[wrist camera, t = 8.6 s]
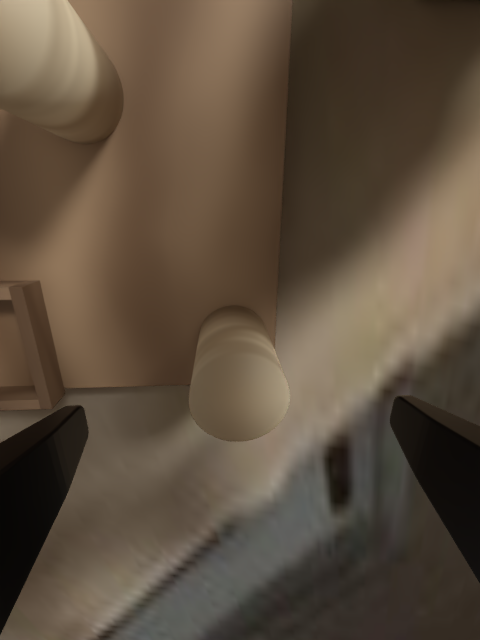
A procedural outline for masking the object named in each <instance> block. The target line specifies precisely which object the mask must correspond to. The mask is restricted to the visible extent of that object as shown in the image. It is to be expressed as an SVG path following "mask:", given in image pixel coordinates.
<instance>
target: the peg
mask: <svg viewBox="0 0 480 640" xmlns="http://www.w3.org/2000/svg"><path fill="white" fill-rule="evenodd" d="M123 105H124V95H123V88H122V84H121V80H120V77H119V75H118V72H117V70H116V68H115V66H114V65H113V63H112V62H111V60H110V59H109V57H108V56H107V55H106V53H105V52H104V50H103V49H102V48H101V46H100V45H99V43H98V42H97V41H96V39H95V38H94V36H93V35H92V34H91V32H90V31H89V30H88V28H87V27H86V25H85V24H84V23H83V21H82V20H81V18H80V17H79V16H78V14H77V13H76V11H75V10H74V9H73V7H72V6H71V4H70V3H69V2H68V0H0V109H2V110H5V111H7V112H9V113H11V114H13V115H15V116H17V117H19V118H21V119H24V120H26V121H28V122H30V123H32V124H34V125H36V126H38V127H40V128H43V129H45V130H47V131H49V132H51V133H53V134H55V135H57V136H59V137H62V138H64V139H66V140H68V141H71V142H74V143H78V144H93V143H97V142H100V141H102V140H104V139H105V138H107V137H108V136H109V135H111V133H112V132H113V131H114V130H115V129H116V127H117V126H118V124H119V121H120V119H121V116H122V112H123Z"/></svg>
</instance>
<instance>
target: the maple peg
mask: <svg viewBox="0 0 480 640" xmlns="http://www.w3.org/2000/svg"><path fill="white" fill-rule="evenodd" d="M188 403H189V409H190V412H191V415H192V417H193V419H194V420H195V422H196V423H197V424H198V425H199V427H200V428H201V429H203V430H204V431H205V432H207V433H208V434H210V435H212V436H214V437H216V438H219V439H222V440H226V441H248V440H252V439H256V438H259V437H261V436H263V435H265V434H267V433H269V432H270V431H271V430H273V429H274V428H275V427H276V426H277V425H278V424H279V423H280V422H281V421H282V419H283V418H284V416H285V415H286V412H287V410H288V407H289V403H290V390H289V386H288V383H287V380H286V378H285V375H284V373H283V370H282V367H281V365H280V362H279V360H278V357H277V355H276V352H275V350H274V347H273V345H272V342H271V340H270V337H269V335H268V332H267V330H266V327H265V325H264V323H263V321H262V319H261V318H260V317H259V316H258V315H257V314H256V313H255V312H254V311H252V310H250V309H248V308H246V307H243V306H237V305H231V306H225V307H221V308H219V309H217V310H215V311H213V312H212V313H211V314H210V315H208V317H207V318H206V319H205V320H204V322H203V324H202V326H201V329H200V333H199V339H198V345H197V351H196V356H195V362H194V368H193V374H192V380H191V385H190V391H189V401H188Z"/></svg>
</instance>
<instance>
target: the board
mask: <svg viewBox="0 0 480 640" xmlns="http://www.w3.org/2000/svg"><path fill="white" fill-rule="evenodd" d="M68 2H69V3H70V4H71V6H72V7H73V9H74V10H75V11H76V13H77V14H78V16H79V17H80V18H81V20H82V21H83V23H84V24H85V25H86V27H87V28H88V30H89V31H90V32H91V34H92V35H93V36H94V38H95V39H96V41H97V42H98V43H99V45H100V46H101V48H102V49H103V50H104V52H105V53H106V55H107V56H108V57H109V59H110V60H111V62H112V63H113V65H114V66H115V68H116V70H117V72H118V75H119V77H120V80H121V84H122V88H123V95H124V105H123V112H122V116H121V119H120V121H119V124H118V126H117V127H116V129H115V130H114V131H113V132H112V133H111V135H109V136H108V137H107V138H105V139H104V140H102V141H100V142H97V143H93V144H78V143H74V142H71V141H68V140H66V139H64V138H62V137H59V136H57V135H55V134H53V133H51V132H49V131H47V130H45V129H43V128H40V127H38V126H36V125H34V124H32V123H30V122H28V121H26V120H24V119H21V118H19V117H17V116H15V115H13V114H11V113H9V112H7V111H5V110H2V109H0V411H1V410H33V409H53V407H54V406H55V405H56V404H57V403H58V402H59V400H60V399H61V398H62V397H63V396H64V395H65V390H64V388H91V387H127V386H163V385H191V380H192V374H193V368H194V362H195V356H196V351H197V345H198V339H199V333H200V329H201V326H202V324H203V322H204V320H205V319H206V318H207V317H208V315H210V314H211V313H212V312H213V311H215V310H217V309H219V308H221V307H225V306H231V305H237V306H243V307H246V308H248V309H250V310H252V311H254V312H255V313H256V314H257V315H258V316H259V317H260V318H261V319H262V321H263V323H264V325H265V327H266V330H267V332H268V335H269V337H270V340H271V342H272V345H273V347H274V349H275V330H276V311H277V292H278V272H279V253H280V234H281V215H282V195H283V176H284V157H285V138H286V119H287V99H288V80H289V61H290V42H291V23H292V3H293V0H68Z"/></svg>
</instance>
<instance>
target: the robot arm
mask: <svg viewBox="0 0 480 640" xmlns="http://www.w3.org/2000/svg"><path fill="white" fill-rule="evenodd" d="M390 425H391V428H392V430H393V432H394V434H395V436H396V438H397V440H398V442H399V444H400V446H401V448H402V451H403V453H404V455H405V457H406V459H407V461H408V463H409V465H410V467H411V469H412V471H413V473H414V475H415V477H416V478H417V480H418V482H419V484H420V485H421V487H422V489H423V490H424V492H425V493H426V495H427V497H428V498H429V500H430V502H431V503H432V505H433V507H434V508H435V510H436V512H437V513H438V515H439V517H440V518H441V520H442V522H443V523H444V525H445V526H446V528H447V530H448V531H449V533H450V535H451V536H452V538H453V540H454V541H455V543H456V545H457V546H458V548H459V550H460V551H461V553H462V555H463V556H464V558H465V559H466V561H467V563H468V564H469V566H470V568H471V569H472V571H473V573H474V574H475V576H476V578H477V579H478V581H479V583H480V426H478V425H476V424H473V423H471V422H469V421H467V420H465V419H462V418H460V417H458V416H456V415H453V414H451V413H449V412H447V411H445V410H442V409H440V408H438V407H436V406H433V405H431V404H429V403H427V402H425V401H422V400H420V399H418V398H416V397H413V396H411V395H401V396H396V397H395V399H394V402H393V406H392V411H391V415H390ZM87 438H88V425H87V420H86V416H85V411H84V408H83V407H82V406H80V405H76V406H65V407H63V408H61V409H60V410H58V411H56V412H54V413H53V414H51V415H49V416H47V417H46V418H44V419H42V420H40V421H38V422H37V423H35V424H33V425H31V426H30V427H28V428H26V429H24V430H23V431H21V432H19V433H17V434H15V435H14V436H12V437H10V438H8V439H7V440H5V441H3V442H1V443H0V634H1V632H2V630H3V628H4V626H5V624H6V622H7V619H8V617H9V615H10V613H11V611H12V609H13V607H14V605H15V603H16V601H17V599H18V596H19V594H20V592H21V590H22V588H23V586H24V584H25V582H26V580H27V578H28V575H29V573H30V571H31V569H32V567H33V565H34V563H35V561H36V559H37V557H38V554H39V552H40V550H41V548H42V546H43V544H44V542H45V540H46V538H47V536H48V533H49V531H50V529H51V527H52V525H53V523H54V521H55V519H56V517H57V515H58V512H59V510H60V508H61V506H62V504H63V502H64V500H65V498H66V495H67V493H68V491H69V488H70V486H71V483H72V480H73V477H74V475H75V472H76V469H77V466H78V463H79V461H80V458H81V455H82V452H83V449H84V447H85V444H86V441H87Z"/></svg>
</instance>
